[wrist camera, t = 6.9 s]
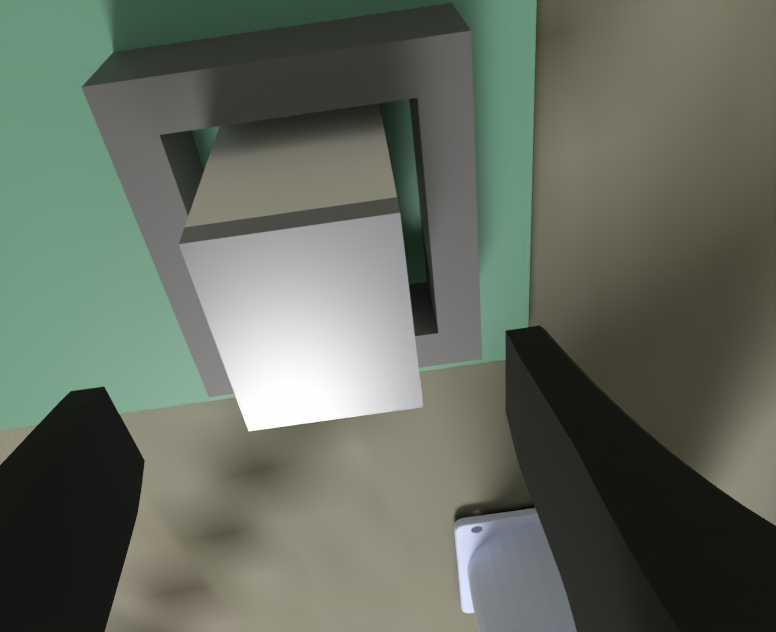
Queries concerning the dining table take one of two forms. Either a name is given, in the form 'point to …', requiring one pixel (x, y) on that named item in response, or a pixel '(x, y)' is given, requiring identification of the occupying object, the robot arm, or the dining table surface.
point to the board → (190, 155)
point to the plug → (305, 268)
